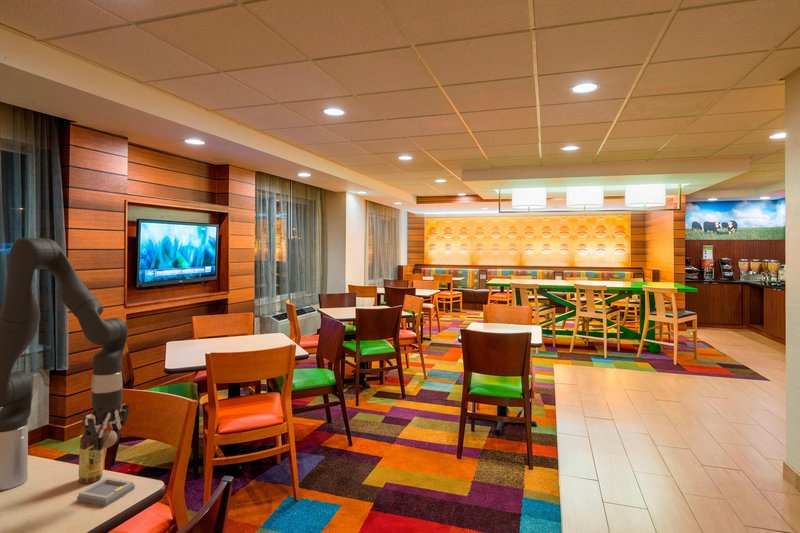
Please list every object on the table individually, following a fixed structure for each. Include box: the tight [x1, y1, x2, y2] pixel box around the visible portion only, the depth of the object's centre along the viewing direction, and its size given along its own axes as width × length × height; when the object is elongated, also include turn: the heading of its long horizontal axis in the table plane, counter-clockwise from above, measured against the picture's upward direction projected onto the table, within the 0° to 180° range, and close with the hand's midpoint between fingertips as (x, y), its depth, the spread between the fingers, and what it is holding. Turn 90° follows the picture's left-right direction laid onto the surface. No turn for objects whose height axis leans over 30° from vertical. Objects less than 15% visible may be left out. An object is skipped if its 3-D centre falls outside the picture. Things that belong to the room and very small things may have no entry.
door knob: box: [102, 429, 117, 449], centre depth 134 cm, size 5×5×5 cm
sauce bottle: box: [78, 413, 105, 484], centre depth 142 cm, size 7×6×20 cm
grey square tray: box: [76, 477, 136, 507], centre depth 134 cm, size 10×10×2 cm
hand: (106, 445), depth 134 cm, fingers closed on door knob, 5 cm apart
